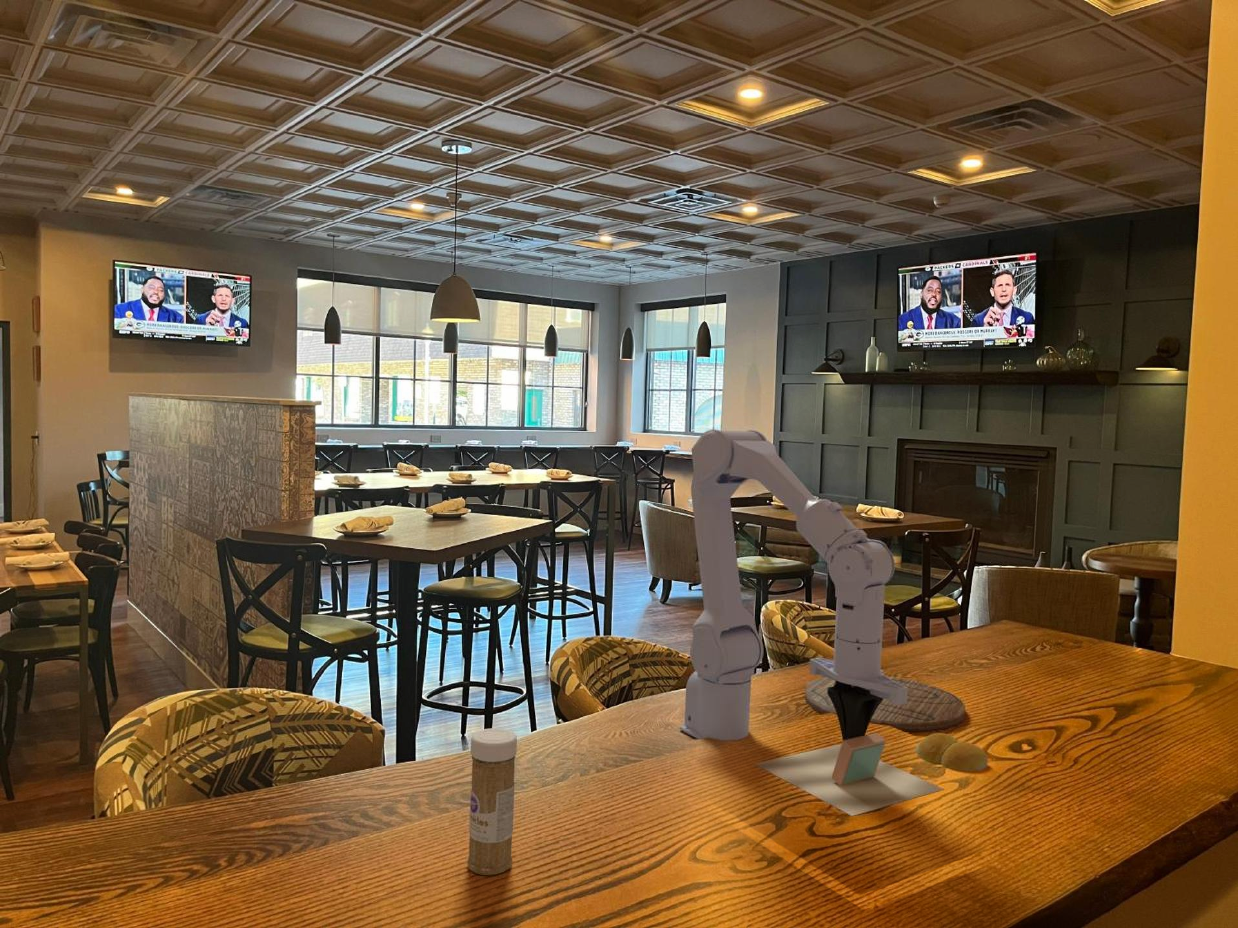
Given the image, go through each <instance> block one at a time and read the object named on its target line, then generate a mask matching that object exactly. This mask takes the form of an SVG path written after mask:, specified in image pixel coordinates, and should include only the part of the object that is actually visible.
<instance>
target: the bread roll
mask: <svg viewBox="0 0 1238 928" xmlns="http://www.w3.org/2000/svg"><path fill="white" fill-rule="evenodd" d="M914 752H915V754H916V755H917V756H918V757H919V758H920V759H921V760H923V761H926V762H929V763H932V764H939V765H940V766H942V767H943V768H946V769H949V770H951V771H952V770H953V771H962V772H976V771H982V770H984V769H986V768H987V767H988V763H989V762H988V757H987V754H986V752H985V751H984V750H983V749H982V748H981V747H979V746H978V745H975V744H974V743H970V742H967V741H959V740H958V739H957V738H955V737H954V736H952V735H950V734H947V733H943V732H933V733H931V734H929V735H927V736H926V737H924V739H922V740H921V741H919V742H918V743H917V745H916V746H915V751H914Z"/></svg>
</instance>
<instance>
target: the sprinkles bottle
mask: <svg viewBox="0 0 1238 928" xmlns="http://www.w3.org/2000/svg"><path fill="white" fill-rule="evenodd" d="M470 739H471V740H470V754H471V759H472V762H471V765H472V767H471V790H470V800H469V802H470V803H469V827H468V834H469V842H468V843H469V845H468V858H467V867H468V868H469V870H470V871H471V872H473V873H475V874H477V875H483V876H494V875H495V876H496V875H498V874H501V873H504V872H505V871H508V870H509V869H510V868H511V867H512V865H513V857H512V844H513V843H512V842H513V833H514V813H515V812H514V810H515V806H514V805H515V804H514V803H515V760H516V755H517V753H518V752H517V751H518V750H517V749H518V743H517V742H518V740H517V739H518V737H517V735H516V733H514V731H511V730H509V729H505V728H499V727H498V728H496V727H495V728H494V727H493V728H492V727H491V728H485V729H480V730H478V731H475V733H473V734H472V735H471V738H470Z"/></svg>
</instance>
